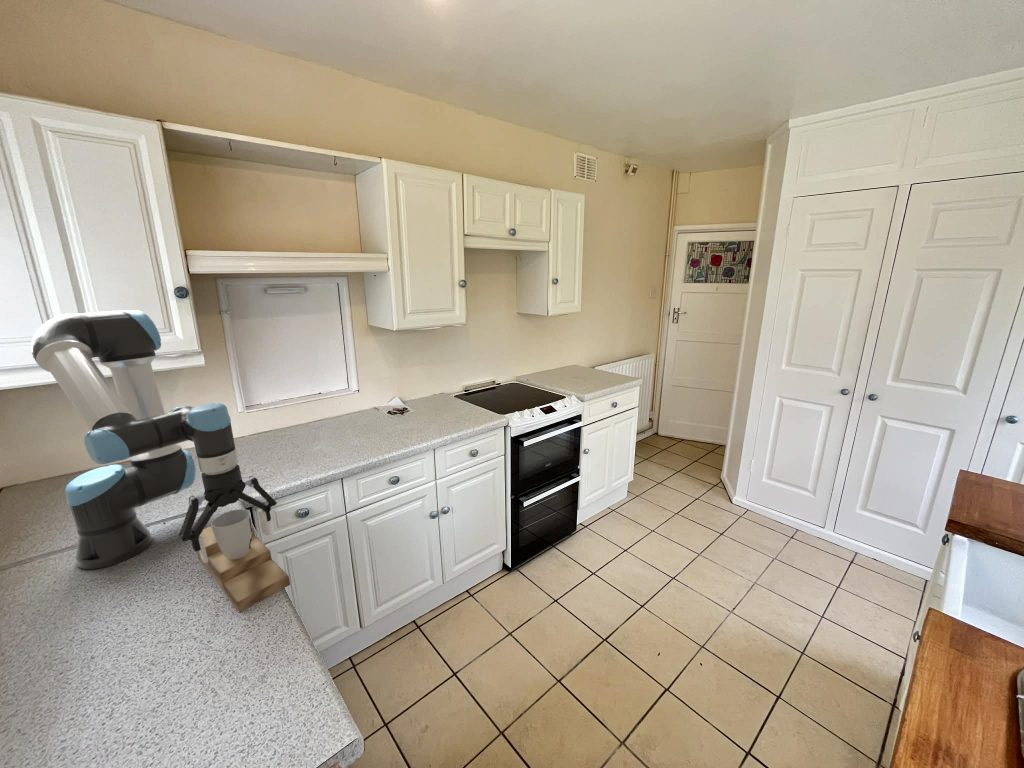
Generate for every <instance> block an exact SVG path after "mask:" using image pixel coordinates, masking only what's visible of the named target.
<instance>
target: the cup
mask: <svg viewBox="0 0 1024 768" xmlns="http://www.w3.org/2000/svg"><path fill="white" fill-rule="evenodd" d="M210 526H211V527H212V530H213V533H214V536H215V539H216V541H217V543H218V545H219V547H220V549H221V551H222V552H223V554H224V555H225V556H226V558H227V559H230V560H234V559H239V558H241V557H243V556H245V555H247V554H248V553H249V552H250V548H251V542H252V527H253V526H252V518H251V512H250V510H249V509H246V508H239V509H233V510H229V511H228V510H227V511H226V512H224V513H221V514H219V515H218V516H216V517H215V518H213V519H212V520H211V522H210Z"/></svg>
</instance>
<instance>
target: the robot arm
mask: <svg viewBox="0 0 1024 768" xmlns="http://www.w3.org/2000/svg"><path fill="white" fill-rule="evenodd" d="M161 341H162V339H161V335H160V333H159V330H158V328H157V325H156V324H155V322H154V321H153V319H151V318H150V316H149V315H148V314H146V313H145V312H143V311H140V310H138V309H137V310H133V309H132V310H130V309H128V310H126V309H125V310H123V309H120V310H110V311H107V310H106V311H95V312H81V313H78V312H77V313H75V312H73V313H64V314H60V315H57V316H54V317H53V318H51V319H48V320H47V321H46V322H44V323H43V324H41V326H39V328H38V329H37V330H36V331H35V333H34V336H33V337H32V340H31V347H30V350H31V354H32V357H33V359H34V360H35V362H36V364H37V365H38V366H39V367H40V369H42V370H44V371H46V372H49V373H50V374H51V375H52V376H53V378H54V380H55V381H56V383H57V384H58V386H60V388H61V390H62V391H63V393H64V394H65V395H66V397H67V399H68V400H69V402H70V403H71V404H72V405H73V407H74V408H75V410H76V411H77V413H78V414H79V416H80V417H81V419H82V421H83V422H84V423H85V424H86V427H88V429H89V430H90V431H88V432H86V433H85V434H84V437H83V439H84V440H83V441H84V446H85V450H86V451H87V453H88V455H89V457H90V459H91V460H92V462H94V463H95V464H97V465H104V466H101V467H96V468H94V469H91V470H88V471H86V472H84V473H82V474H80V475H78V476H77V477H75V478H73V479H72V480H71V481H70V482H68V483H67V485H66V486H65V496H66V497H65V498H66V504H67V506H68V507H69V511H70V513H71V515H72V516H71V517H72V518H73V522H74V525H75V529H76V532H77V535H78V538H77V539H78V540H77V543H76V544H77V545H76V552H75V561H76V564H77V567H78V568H80V569H84V570H95V569H103V568H106V567H110V566H113V565H116V564H120V563H122V562H124V561H127V560H129V559H130V558H133V557H135V556H137V555H139V554H140V553H141V552H143V551H144V550H145V549H146V548H148V547H149V546H150V544H151V543H152V540H153V538H152V535H151V534H152V533H151V531H150V530H149V528H147V526H146V525H145V524H144V523H143V522H142V521H141V520H140V519H139V518H138V515H137V512H136V509H137V508H140V507H142V506H144V505H148V504H149V503H152V502H156V501H158V500H161V499H163V498H167V497H169V496H172V495H177V494H178V493H180V492H182V491H184V490H187V489H189V488H191V487H192V485H193V484H194V482H195V480H196V476H197V475H196V474H197V473H196V472H197V471H196V469H197V468H196V463H195V460H194V458H193V455H192V454H191V452H190V451H188V450H186V449H182V446H181V445H180V443H184V442H189V441H190V442H193V444H194V448H195V453H196V457H197V461H198V465H199V471H200V473H201V479H202V484H203V488H204V493H203V494H200V495H190V496H189V497H188V503H189V504H188V505H189V506H188V509H187V511H186V515H185V518H184V520H183V523H182V526H181V528H180V532H179V534H178V537H179V538H180V540H181V542H187V541H190V542H191V546H192V549H193V550H194V552H196V553H197V551H199V552H200V556H201V559H202V560H203V562H204V563H206V562H208V558H207V554H206V549H205V545H204V541H203V537H202V536H201V535H200V534H201V532H202V531H203V529H205V527H206V526H207V524H208V523H209V522H210V520H211V518H212V516H213V515H214V513H216V512H217V510H218V509H219V508H224V507H226V506H228V505H230V504H234V503H237V501H238V500H239V499H240V500H241V501H244V502H246V503H248V504H250V505H253V506H254V507H257V508H259V509H257V511H258V515H259V520H260V526H261V530H262V533H263V534H264V535H265V536H270V534H271V533H270V529H269V523H268V522H270V521H271V520H272V518H271V517H272V516H271V510H272V509H271V508H272V507H274V506H275V507H276V505H277V503H278V502H277V501H276V500H275V499H274V498H273V497H272V496H271V495H270V494H269V493H268V492H267V491H266V490H265V489H264V488H263V487H262V486H261V485H260V483H259V480H258V478H257V477H256V476H254V475H250V476H249V477H248V478H247V479H245V480H243V478H242V472H241V469H240V468H241V467H240V465H239V458H238V455H237V454H238V453H237V449H236V444H235V440H234V435H233V429H232V428H233V427H232V421H231V420H232V419H231V416H230V414H229V410H228V407H227V406H226V405H225V404H224V403H219V402H217V403H214V402H213V403H205V404H199V405H197V406H187V405H182V406H176V407H174V408H173V409H170V411H168V412H167V413H165V408H164V405H163V402H162V398H161V395H160V394H161V393H160V391H159V387H158V383H157V381H156V377H155V373H154V370H153V366H152V362H153V361H154V360H155V358H157V355H156V351H158V350H160V349H161V347H162V342H161ZM94 358H95V359H96V358H98V360H99V364H100V365H102V366H104V367H106V368H108V369H109V370H110V373H111V376H112V380H113V382H114V386H115V388H114V387H113V386H112V385H111V383H110V382H109V380H108V379H107V378H106V376H105V375H104V374H103V373H102V371H101V369H100V368H99V367H98V365H96V363H95V362H94V360H93V359H94ZM128 458H129V461H130V462H129V463H130V465H129V466H126V467H123V465H121V464H111V463H114V462H120V461H124V460H127V459H128ZM105 464H109V465H105ZM246 486H248V487H250V488H253V489H254V490H255V491H256V492H257V493H258V494H259V495H260V496H261V497H262V498H263V499H264V500H265V501H266V502H265V503H264V502H262V501H261V500H259V499H256V498H254V497H253V496H251V495H248V494H247V493H245V492H244V489H245V488H246ZM203 501H207V504H206V505H205V508H204V509H203V511H202V513H201V514H200V516H199V517H198V519H197V521H196V517H197V515H198V512H199V509H200V506H201V505H202V504H203ZM195 521H196V522H195Z"/></svg>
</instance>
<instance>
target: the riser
mask: <svg viewBox="0 0 1024 768" xmlns="http://www.w3.org/2000/svg"><path fill="white" fill-rule="evenodd" d="M200 535H201V536H202V537H203V541H204V545H205V549H206V554H207V558H208V562H206V563H204V562H203V560H202V559H201V556H200V552H199V551H197V552H196V553H197V556H198V559H199V560H200V562H201V563H202V565H203V566H204V567H205V568H206V570H207V571H208V573H209V574H210V575H211V577H212V578H213V579H214V581H215V582H216V584H217V585H218V587H220V589H221V590H222V592H223V593H224V594H225V595H226V597H227V598H228V599H229V601H230V602H231V604H232V605H233V606H234V608H235V609H236V610H237V611H238V613H241V612H243V611H245V610H246V609H248V608H251V607H253V606H254V605H255V604H257V603H259V602H261V601H263V600H265V599H267V598H269V597H270V596H273V595H274V594H276V593H278V592H279V591H281V590H283V589H285V588H287V587H289V586H291V581H290V576H289V575H288V573H286V572H285V571H284V570H283V569H282V568H281V566H279V564H277V562H275V560H273V559H272V554H271V550H270V549H269V548H268V547H267V546H266V545H265V544H264V543H263V542H262V541H261V540H260V539H259V538H258V537H257V536H255V535H256V534H255V531H254V527H253V526H252V542H251V548H250V552H249V553H248V554H247V555H245V556H243V557H241V558H239V559H234V560H230V559H227V558H226V556H225V555H224V554H223V552H222V551H221V549H220V547H219V545H218V543H217V541H216V539H215V536H214V533H213V530H212V527H211V525H210V526H208V527H206V528H204V529H203V531H202V532H201V534H200Z"/></svg>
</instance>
